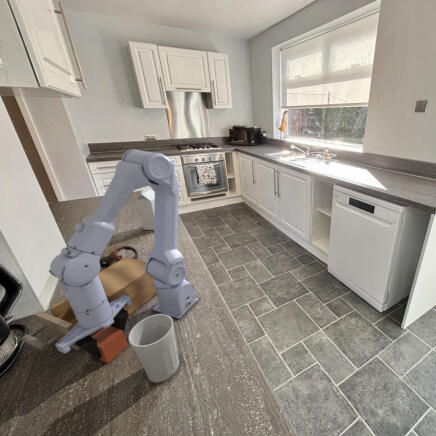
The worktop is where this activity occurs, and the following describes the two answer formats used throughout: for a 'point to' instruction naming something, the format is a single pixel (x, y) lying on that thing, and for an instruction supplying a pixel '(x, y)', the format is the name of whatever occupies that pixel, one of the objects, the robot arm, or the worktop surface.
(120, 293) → the cabinet
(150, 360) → the cup
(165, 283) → the robot arm
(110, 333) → the block
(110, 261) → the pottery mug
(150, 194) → the milk carton
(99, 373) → the worktop surface
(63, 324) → the drawer
